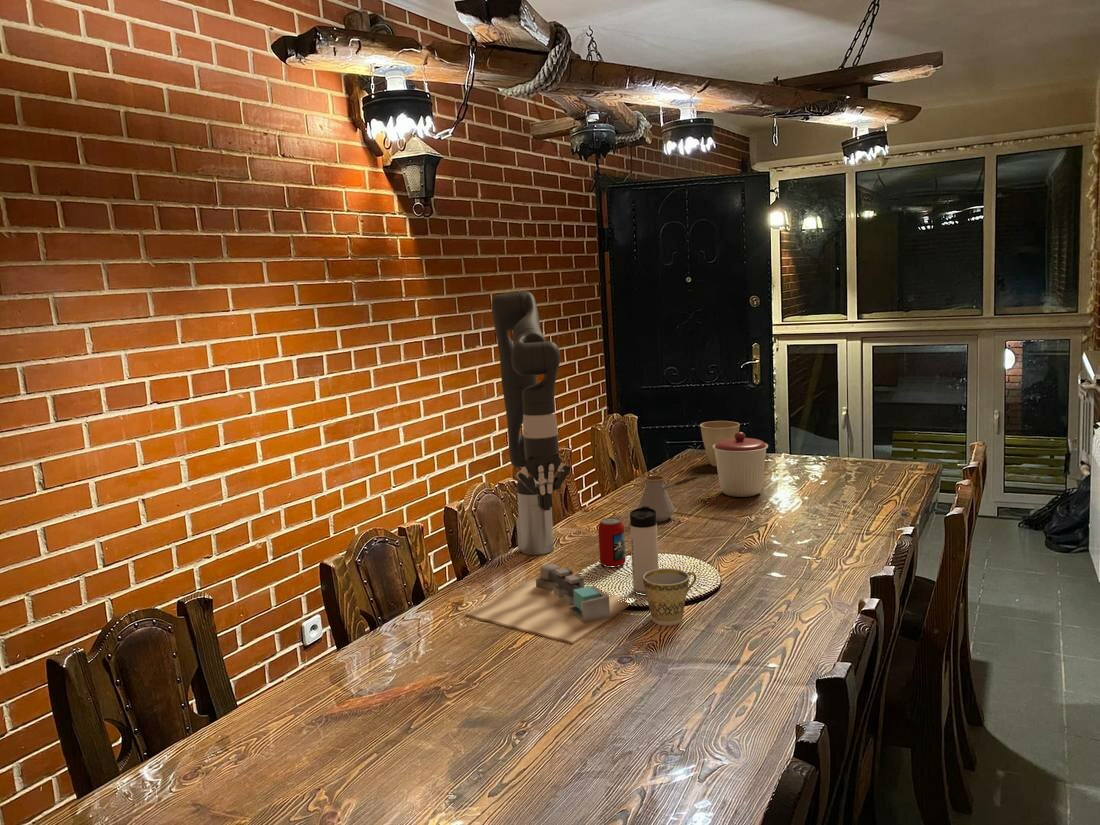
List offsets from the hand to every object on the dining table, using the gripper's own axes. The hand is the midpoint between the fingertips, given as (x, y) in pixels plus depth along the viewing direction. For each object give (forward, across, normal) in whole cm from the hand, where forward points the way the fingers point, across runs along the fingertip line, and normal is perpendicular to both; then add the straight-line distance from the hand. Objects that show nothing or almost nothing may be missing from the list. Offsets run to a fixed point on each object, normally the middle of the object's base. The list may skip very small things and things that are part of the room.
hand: (545, 509), depth 182 cm
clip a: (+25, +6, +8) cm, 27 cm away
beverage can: (+25, +26, +22) cm, 42 cm away
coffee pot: (+25, +59, +47) cm, 80 cm away
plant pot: (+26, +113, +99) cm, 152 cm away
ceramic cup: (+25, +22, -16) cm, 37 cm away
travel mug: (+25, +25, +1) cm, 35 cm away
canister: (+25, +94, +60) cm, 115 cm away
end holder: (+24, +6, -5) cm, 26 cm away
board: (+24, +1, +3) cm, 25 cm away
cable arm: (+22, +6, +5) cm, 24 cm away
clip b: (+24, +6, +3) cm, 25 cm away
